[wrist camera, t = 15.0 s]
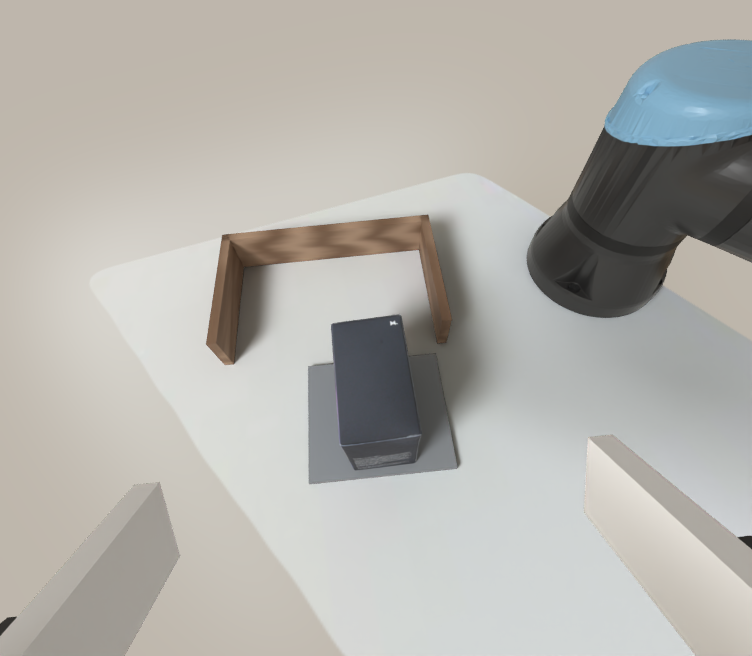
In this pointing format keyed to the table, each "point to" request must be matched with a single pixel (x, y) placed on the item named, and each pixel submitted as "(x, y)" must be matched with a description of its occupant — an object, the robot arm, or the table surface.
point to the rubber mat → (324, 435)
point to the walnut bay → (318, 246)
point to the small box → (375, 393)
